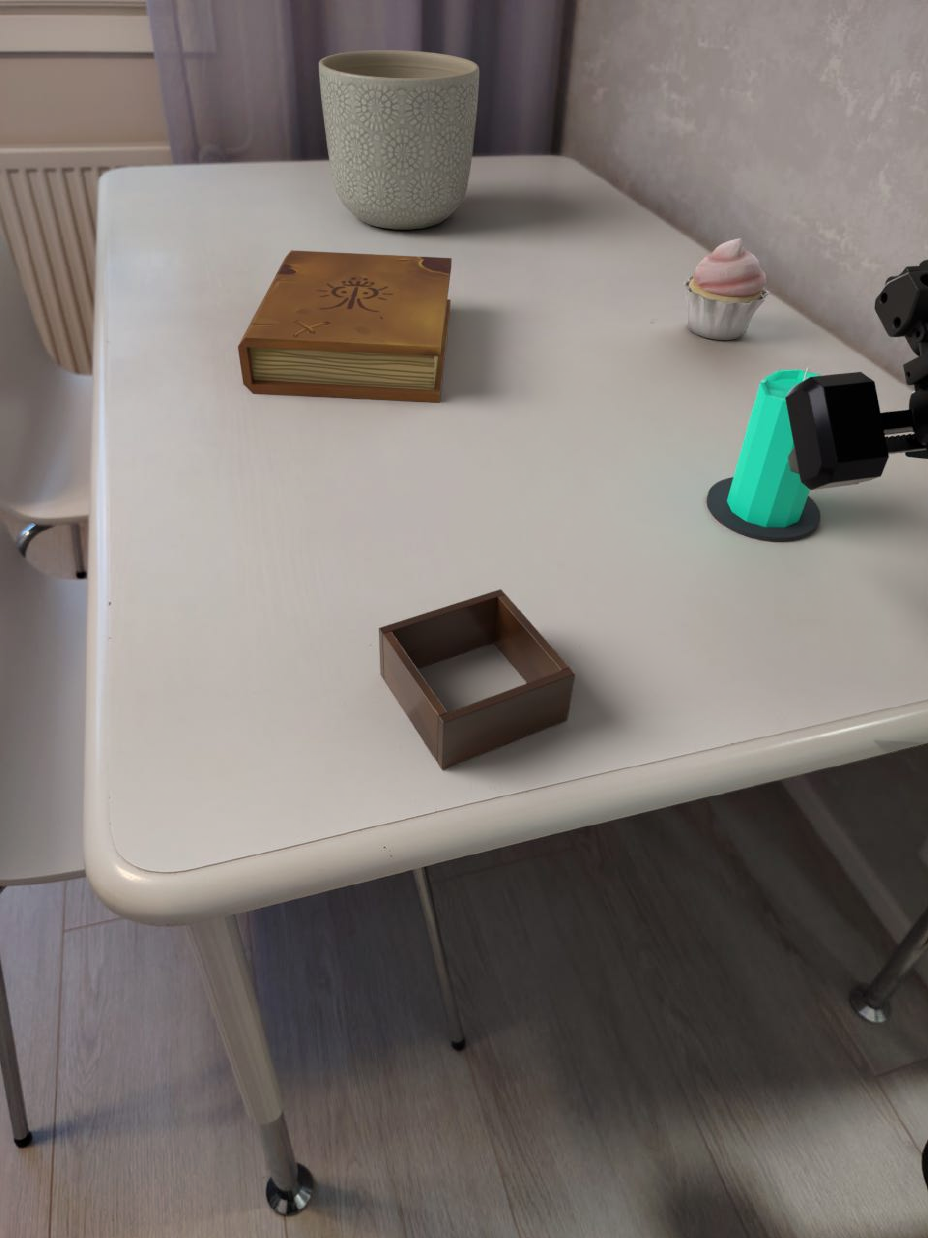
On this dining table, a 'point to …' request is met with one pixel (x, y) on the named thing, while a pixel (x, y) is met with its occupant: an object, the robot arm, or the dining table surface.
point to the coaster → (732, 521)
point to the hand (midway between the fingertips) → (849, 456)
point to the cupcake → (725, 292)
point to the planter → (399, 133)
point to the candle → (769, 458)
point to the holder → (487, 718)
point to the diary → (350, 328)
